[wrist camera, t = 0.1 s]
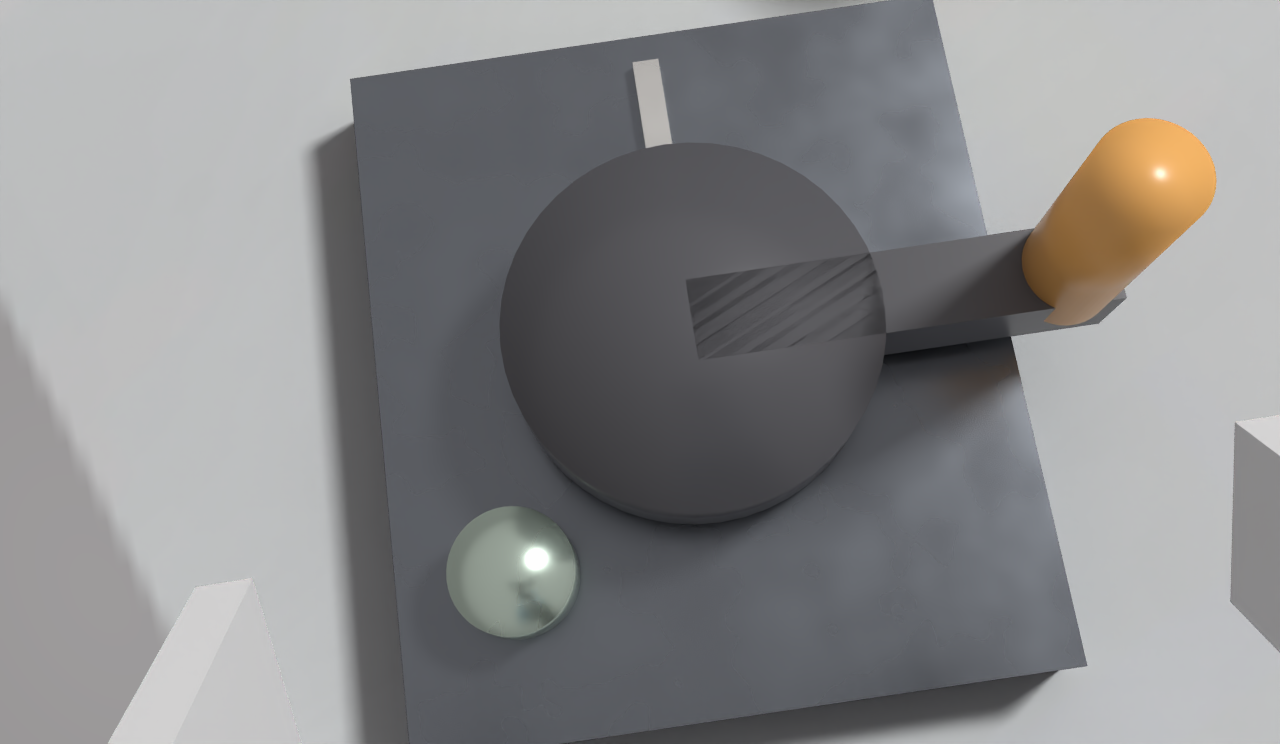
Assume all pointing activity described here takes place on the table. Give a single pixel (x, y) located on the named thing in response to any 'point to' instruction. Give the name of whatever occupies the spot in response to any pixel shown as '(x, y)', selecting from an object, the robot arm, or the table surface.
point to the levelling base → (686, 553)
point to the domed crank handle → (786, 310)
